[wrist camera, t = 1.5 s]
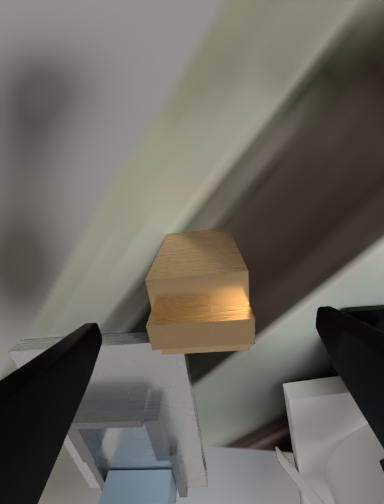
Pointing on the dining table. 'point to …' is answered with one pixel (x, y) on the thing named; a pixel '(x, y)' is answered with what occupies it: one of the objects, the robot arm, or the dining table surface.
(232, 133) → the dining table surface
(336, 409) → the recessed light fixture
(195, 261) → the block
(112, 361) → the seat jig
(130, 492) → the block
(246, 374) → the dining table surface
